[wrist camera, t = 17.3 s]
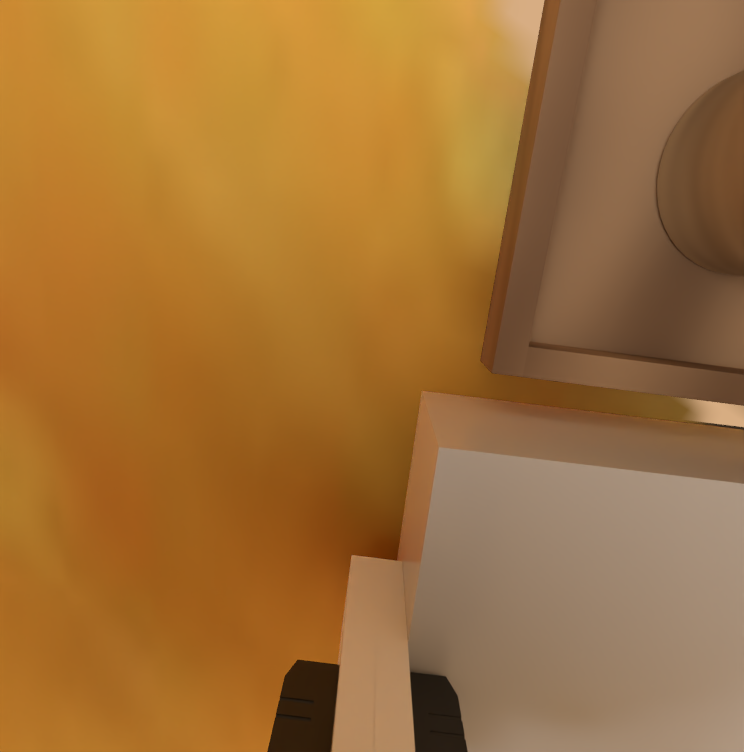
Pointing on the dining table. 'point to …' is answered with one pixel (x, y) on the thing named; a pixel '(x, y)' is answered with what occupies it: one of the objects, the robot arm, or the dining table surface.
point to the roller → (707, 180)
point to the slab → (577, 576)
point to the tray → (614, 207)
